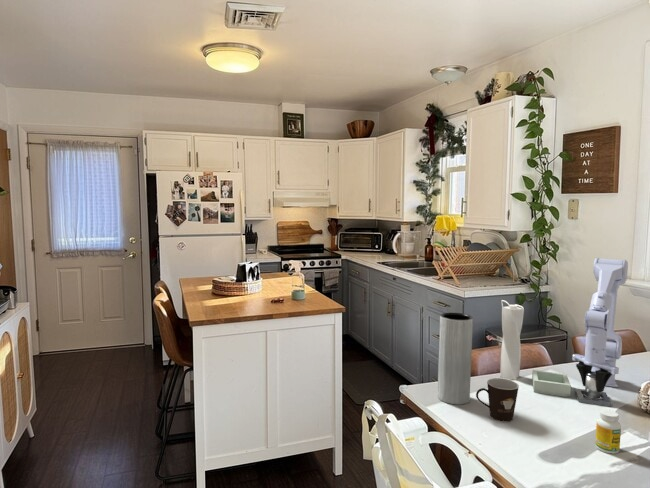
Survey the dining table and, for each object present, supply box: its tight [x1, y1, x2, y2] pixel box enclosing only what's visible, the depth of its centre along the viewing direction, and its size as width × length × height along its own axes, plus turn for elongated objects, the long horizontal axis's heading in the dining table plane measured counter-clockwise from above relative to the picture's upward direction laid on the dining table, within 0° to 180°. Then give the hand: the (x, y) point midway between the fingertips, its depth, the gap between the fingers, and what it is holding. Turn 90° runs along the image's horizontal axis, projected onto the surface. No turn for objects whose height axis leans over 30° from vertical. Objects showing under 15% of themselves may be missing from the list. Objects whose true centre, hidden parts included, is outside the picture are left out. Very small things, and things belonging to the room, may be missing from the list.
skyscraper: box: [499, 299, 525, 381], centre depth 167 cm, size 8×8×28 cm
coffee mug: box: [475, 377, 520, 423], centre depth 136 cm, size 12×9×10 cm
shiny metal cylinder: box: [584, 371, 601, 400], centre depth 149 cm, size 4×4×7 cm
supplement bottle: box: [594, 409, 622, 455], centre depth 118 cm, size 5×5×10 cm
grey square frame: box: [574, 387, 612, 408], centre depth 149 cm, size 9×9×1 cm
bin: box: [531, 369, 572, 398], centre depth 157 cm, size 11×11×4 cm
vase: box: [437, 312, 474, 405], centre depth 147 cm, size 10×10×27 cm
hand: (593, 388), depth 149 cm, fingers closed on shiny metal cylinder, 4 cm apart
